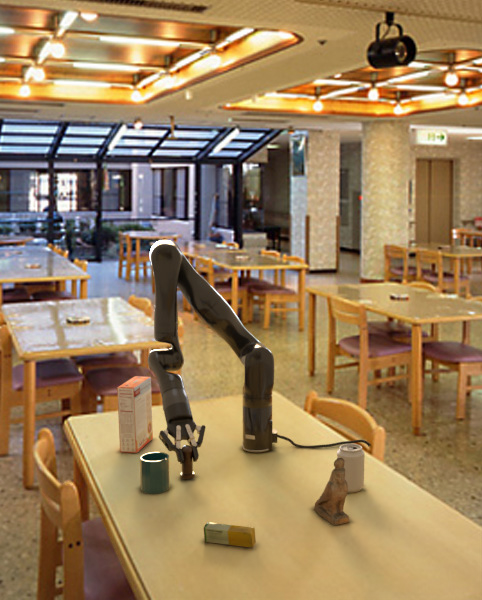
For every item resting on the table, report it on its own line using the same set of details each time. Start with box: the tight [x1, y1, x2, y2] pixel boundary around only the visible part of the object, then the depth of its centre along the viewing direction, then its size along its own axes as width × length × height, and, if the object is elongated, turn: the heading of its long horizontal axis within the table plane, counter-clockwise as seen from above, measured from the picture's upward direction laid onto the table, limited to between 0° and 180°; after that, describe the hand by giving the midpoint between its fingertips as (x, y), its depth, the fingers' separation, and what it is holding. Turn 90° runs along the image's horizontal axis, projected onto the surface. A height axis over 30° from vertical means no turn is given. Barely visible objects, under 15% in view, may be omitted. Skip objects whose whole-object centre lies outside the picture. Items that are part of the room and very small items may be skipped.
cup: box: [139, 451, 171, 495], centre depth 214 cm, size 8×8×9 cm
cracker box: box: [116, 375, 154, 454], centre depth 248 cm, size 14×6×21 cm, turn 172°
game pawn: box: [179, 444, 196, 480], centre depth 222 cm, size 4×4×9 cm
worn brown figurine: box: [313, 458, 350, 526], centre depth 197 cm, size 12×6×18 cm, turn 24°
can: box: [336, 443, 366, 494], centre depth 216 cm, size 8×8×12 cm
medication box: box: [203, 521, 257, 549], centre depth 183 cm, size 12×3×4 cm, turn 75°
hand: (189, 461), depth 220 cm, fingers closed on game pawn, 3 cm apart
